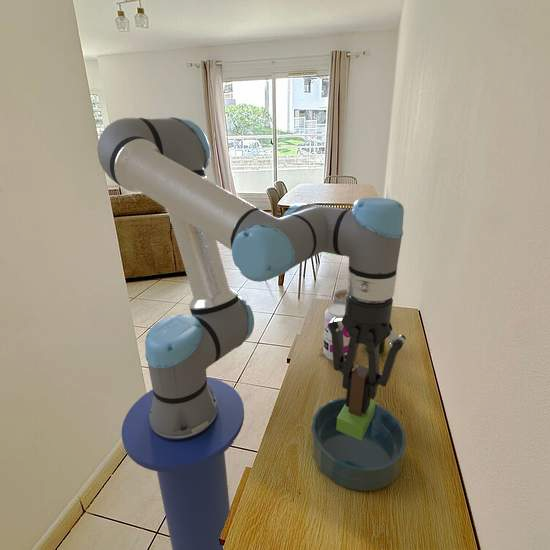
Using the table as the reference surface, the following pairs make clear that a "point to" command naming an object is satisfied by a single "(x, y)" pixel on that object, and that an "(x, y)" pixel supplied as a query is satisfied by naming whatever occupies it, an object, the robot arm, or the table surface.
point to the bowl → (358, 448)
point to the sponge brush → (356, 407)
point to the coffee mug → (340, 297)
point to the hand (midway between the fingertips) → (357, 405)
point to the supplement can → (330, 313)
